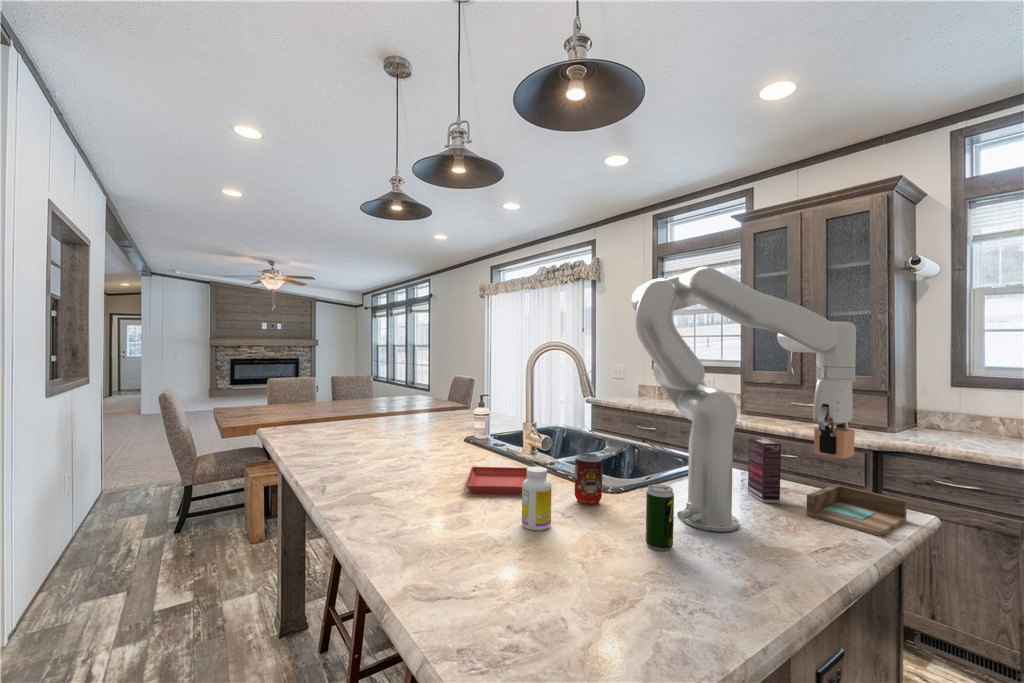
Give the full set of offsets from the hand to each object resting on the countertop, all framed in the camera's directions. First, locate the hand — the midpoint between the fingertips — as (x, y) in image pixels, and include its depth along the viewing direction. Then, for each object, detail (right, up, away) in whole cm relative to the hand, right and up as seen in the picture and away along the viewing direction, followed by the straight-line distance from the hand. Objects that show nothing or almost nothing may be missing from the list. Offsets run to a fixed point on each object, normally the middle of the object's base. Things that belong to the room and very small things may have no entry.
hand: (833, 450), depth 108 cm
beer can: (-45, -17, -13) cm, 50 cm away
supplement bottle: (-70, -16, -3) cm, 72 cm away
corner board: (+9, -18, +5) cm, 20 cm away
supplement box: (-6, -18, +19) cm, 27 cm away
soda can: (-55, -17, +13) cm, 59 cm away
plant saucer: (-79, -17, +26) cm, 85 cm away
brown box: (0, -1, 0) cm, 1 cm away
